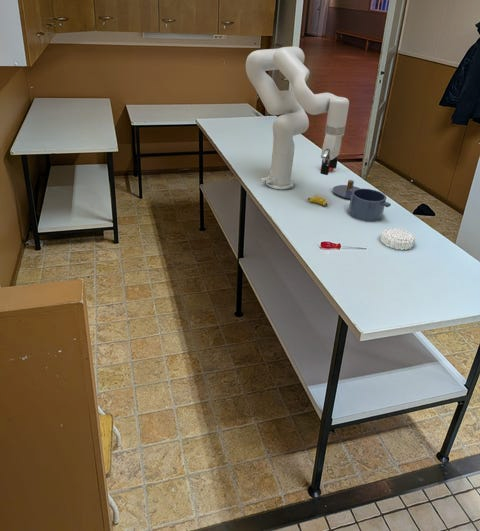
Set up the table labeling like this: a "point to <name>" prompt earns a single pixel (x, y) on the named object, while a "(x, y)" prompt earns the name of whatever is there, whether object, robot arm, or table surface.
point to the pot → (367, 204)
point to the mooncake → (397, 238)
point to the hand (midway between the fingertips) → (328, 171)
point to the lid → (345, 189)
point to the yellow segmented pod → (318, 200)
